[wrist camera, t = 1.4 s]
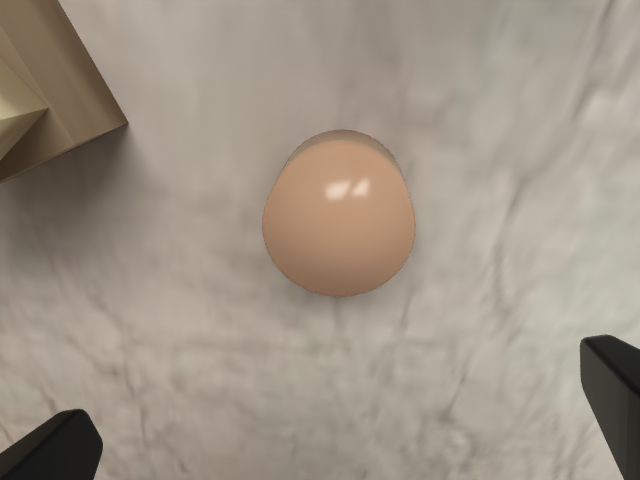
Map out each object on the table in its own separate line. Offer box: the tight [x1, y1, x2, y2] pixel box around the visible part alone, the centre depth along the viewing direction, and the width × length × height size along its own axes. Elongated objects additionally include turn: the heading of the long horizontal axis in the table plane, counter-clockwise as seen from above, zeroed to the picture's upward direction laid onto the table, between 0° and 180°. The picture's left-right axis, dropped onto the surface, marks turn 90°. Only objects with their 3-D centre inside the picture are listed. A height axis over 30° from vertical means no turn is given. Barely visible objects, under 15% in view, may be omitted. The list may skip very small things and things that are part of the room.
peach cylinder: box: [262, 130, 415, 296], centre depth 17 cm, size 5×5×4 cm
